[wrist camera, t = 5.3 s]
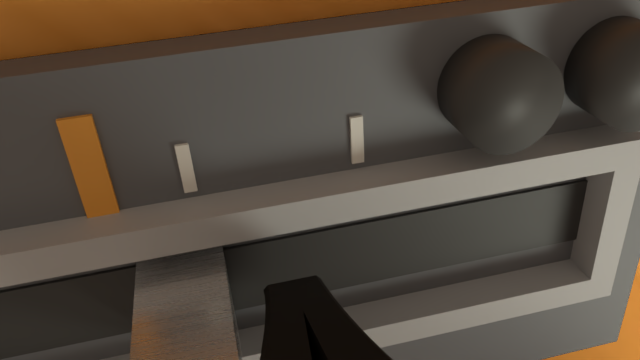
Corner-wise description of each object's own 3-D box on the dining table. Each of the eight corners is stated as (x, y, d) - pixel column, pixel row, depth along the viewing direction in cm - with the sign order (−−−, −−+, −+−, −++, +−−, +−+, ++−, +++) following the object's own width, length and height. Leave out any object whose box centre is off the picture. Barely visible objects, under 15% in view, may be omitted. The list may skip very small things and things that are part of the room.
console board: (594, 317, 21) (645, 372, 19) (-60, 470, 18) (-92, 560, 15) (677, -28, 15) (764, -6, 13) (-305, 100, 11) (-417, 160, 9)
